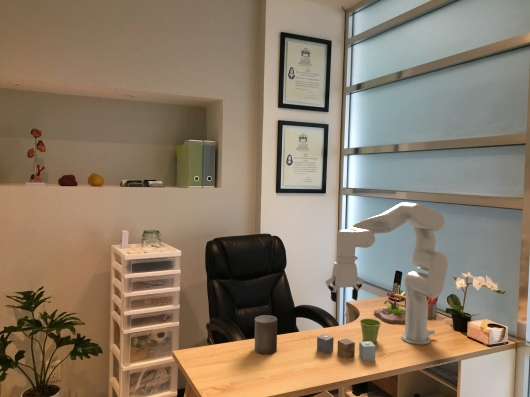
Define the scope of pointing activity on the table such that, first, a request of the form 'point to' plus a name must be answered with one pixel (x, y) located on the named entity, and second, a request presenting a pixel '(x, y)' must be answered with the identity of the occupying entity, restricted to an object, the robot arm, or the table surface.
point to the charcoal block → (325, 343)
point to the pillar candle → (265, 334)
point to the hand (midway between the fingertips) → (344, 300)
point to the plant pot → (370, 329)
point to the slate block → (367, 350)
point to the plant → (391, 313)
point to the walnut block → (346, 348)
